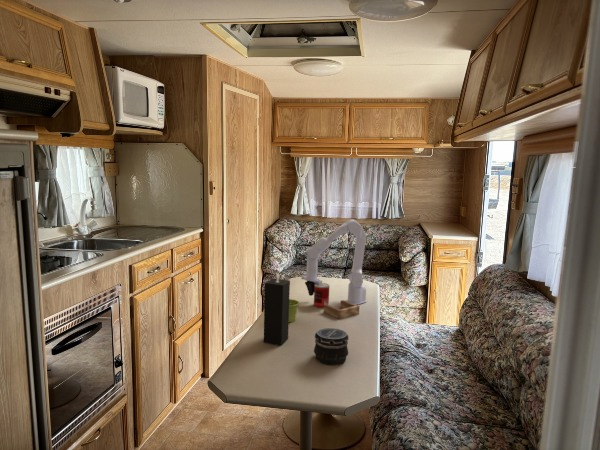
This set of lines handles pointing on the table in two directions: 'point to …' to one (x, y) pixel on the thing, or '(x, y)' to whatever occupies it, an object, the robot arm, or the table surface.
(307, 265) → the robot arm
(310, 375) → the table surface
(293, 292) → the table surface
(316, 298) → the canned food
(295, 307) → the plant pot
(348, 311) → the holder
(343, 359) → the container
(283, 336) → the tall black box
